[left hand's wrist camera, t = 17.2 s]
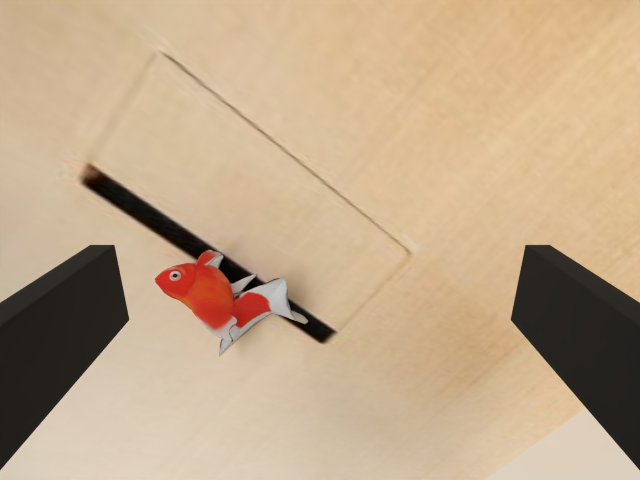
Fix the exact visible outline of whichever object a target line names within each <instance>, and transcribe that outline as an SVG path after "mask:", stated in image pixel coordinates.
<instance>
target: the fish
mask: <svg viewBox="0 0 640 480" xmlns="http://www.w3.org/2000/svg"><path fill="white" fill-rule="evenodd" d="M222 259H223V255H222V254H221V253H220V252H214V251H212V250H207V251H206V252H203V253H202V254H201V256H200V257H199V259H198V260H197V262H196V263H185V264H181V265H176V266H173V267H170V268H168V269H166V270H164V271H163V272H161V273H160V274H159V275H158V276H157V277H156V278H155V282H156V283H157V284H158V285H159V287H160V288H161V289H162V290H163V292H164V293H165V294H167V295H168V296H170V297H172V298H174V299H177V300H180V301H181V302H182V303H184V304H185V305H186V306H187V307H189V308H190V309H191V310H192V311H193V313H194V314H195V316H196V317H197V318H198V319H199V320H200V321H201V322H202V324H203V325H204V326H205V327H206V328H207V329H208V330H209V331H210V332H211V333H213V334H215V335H216V336H218V337H220V338H222V340H221V344H220V353H219V356H220V355H221V354H223V353H224V352H225V351H226V350H227V349H228V348H229V347H230V346H231V345H232V344H234V343H235V342H236V341H237V340H238V339H239V338H240V337H241V336H242V335H244V334H245V333H246V332H247V331H248V330H249V329H250V328H251V327H253V326H254V325H255V324H256V323H258V322H259V321H260V320H262V319H263V318H264V317H266V316H267V315H269V314H271V313H275V314H278V315H282V316H285V317H288V318H290V319H293V320H296V321H298V322H301V323H304V324H306V323H307V322H308V320H307V319H306V318H305V317H304V316H302V315H301V314H299V313H297V312H295V311H291V309H290V306H289V302H288V293H287V286H286V281H285V278H278V279H274V280H272V281H269V282H267V283H265V284H263V285H261V286H258V287H256V288H253V289H251V290H249V291H247V292H244V293H242V294H240V295H238V296H236V297H235V298H234V296H233V294H237V293H239V292H240V291H241V290H243V288H244V287H245V286H246V285H247V284H248V283H249V282H250V281H251V280H252V279H253V278H254V277H255V276H256V274H254V275H252V276H249V277H246V278H244V279H241V280H240V281H238V282H236V283H234V284H230V283H229V281H228V279H227V278H226V277H225V275H224V274H223V273H222V272H221V271H220V270H219V269H218V268H219V266H220V263H221V261H222Z"/></svg>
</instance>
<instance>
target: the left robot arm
mask: <svg viewBox="0 0 640 480" xmlns="http://www.w3.org/2000/svg"><path fill="white" fill-rule="evenodd" d="M128 321H129V316H128V311H127V306H126V301H125V296H124V291H123V286H122V281H121V276H120V271H119V266H118V261H117V256H116V251H115V246H114V245H90V246H88V247H87V248H85V249H83V250H82V251H80V252H79V253H77V254H76V255H74V256H73V257H71V258H69V259H68V260H66V261H65V262H63V263H62V264H60V265H59V266H57V267H55V268H54V269H52V270H51V271H49V272H48V273H46V274H44V275H43V276H41V277H40V278H38V279H37V280H35V281H34V282H32V283H30V284H29V285H27V286H26V287H24V288H23V289H21V290H20V291H18V292H16V293H15V294H13V295H12V296H10V297H9V298H7V299H6V300H4V301H2V302H1V303H0V470H1V469H2V468H3V466H4V465H5V464H6V463H7V462H8V461H9V459H10V458H11V457H12V456H13V455H14V454H15V452H16V451H17V450H18V449H19V448H20V447H21V445H22V444H23V443H24V442H25V441H26V440H27V438H28V437H29V436H30V435H31V434H32V433H33V431H34V430H35V429H36V428H37V427H38V426H39V424H40V423H41V422H42V421H43V420H44V419H45V417H46V416H47V415H48V414H49V413H50V412H51V410H52V409H53V408H54V407H55V406H56V405H57V403H58V402H59V401H60V400H61V399H62V398H63V396H64V395H65V394H66V393H67V392H68V391H69V389H70V388H71V387H72V386H73V385H74V384H75V382H76V381H77V380H78V379H79V378H80V377H81V375H82V374H83V373H84V372H85V371H86V370H87V368H88V367H89V366H90V365H91V364H92V363H93V361H94V360H95V359H96V358H97V357H98V356H99V355H100V353H101V352H102V351H103V350H104V349H105V348H106V346H107V345H108V344H109V343H110V342H111V341H112V339H113V338H114V337H115V336H116V335H117V334H118V332H119V331H120V330H121V329H122V328H123V327H124V325H125V324H126V323H127V322H128ZM511 321H512V322H513V323H514V324H515V325H516V327H517V328H518V329H519V330H520V331H521V332H522V334H523V335H524V336H525V337H526V338H527V339H528V341H529V342H530V343H531V344H532V345H533V346H534V348H535V349H536V350H537V351H538V352H539V353H540V355H541V356H542V357H543V358H544V359H545V360H546V362H547V363H548V364H549V365H550V366H551V367H552V368H553V370H554V371H555V372H556V373H557V374H558V375H559V377H560V378H561V379H562V380H563V381H564V382H565V384H566V385H567V386H568V387H569V388H570V389H571V391H572V392H573V393H574V394H575V395H576V396H577V398H578V399H579V400H580V401H581V402H582V403H583V405H584V406H585V407H586V408H587V409H588V410H589V412H590V413H591V414H592V415H593V416H594V417H595V419H596V420H597V421H598V422H599V423H600V424H601V426H602V427H603V428H604V429H605V430H606V431H607V433H608V434H609V435H610V436H611V437H612V438H613V440H614V441H615V442H616V443H617V444H618V445H619V447H620V448H621V449H622V450H623V451H624V452H625V454H626V455H627V456H628V457H629V458H630V459H631V461H632V462H633V463H634V464H635V465H636V466H637V467H638V469H639V470H640V303H639V302H638V301H636V300H634V299H633V298H631V297H630V296H628V295H627V294H625V293H624V292H622V291H620V290H619V289H617V288H616V287H614V286H613V285H611V284H610V283H608V282H606V281H605V280H603V279H602V278H600V277H599V276H597V275H596V274H594V273H592V272H591V271H589V270H588V269H586V268H585V267H583V266H581V265H580V264H578V263H577V262H575V261H574V260H572V259H571V258H569V257H567V256H566V255H564V254H563V253H561V252H560V251H558V250H557V249H555V248H553V247H552V246H550V245H526V246H525V251H524V256H523V261H522V266H521V271H520V276H519V281H518V286H517V291H516V296H515V301H514V306H513V311H512V316H511Z"/></svg>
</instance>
